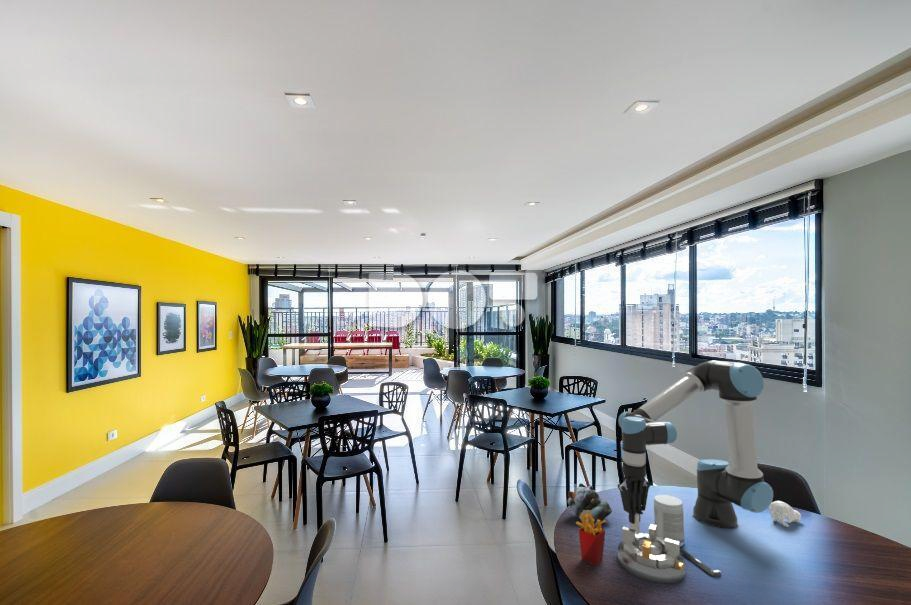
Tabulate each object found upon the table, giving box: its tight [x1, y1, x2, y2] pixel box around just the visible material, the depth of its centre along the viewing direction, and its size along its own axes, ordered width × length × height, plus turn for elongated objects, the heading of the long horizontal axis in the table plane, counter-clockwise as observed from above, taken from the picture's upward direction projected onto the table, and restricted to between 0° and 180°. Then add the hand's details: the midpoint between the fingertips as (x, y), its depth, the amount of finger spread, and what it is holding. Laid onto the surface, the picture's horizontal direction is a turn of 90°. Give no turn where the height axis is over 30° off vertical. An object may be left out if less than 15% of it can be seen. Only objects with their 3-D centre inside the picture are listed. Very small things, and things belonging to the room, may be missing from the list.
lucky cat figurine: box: [567, 483, 613, 526], centre depth 164 cm, size 15×12×14 cm
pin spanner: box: [680, 549, 722, 577], centre depth 133 cm, size 13×3×2 cm, turn 12°
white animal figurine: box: [768, 500, 802, 528], centre depth 161 cm, size 6×8×12 cm
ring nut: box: [621, 523, 681, 569], centre depth 134 cm, size 16×16×6 cm
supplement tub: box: [653, 494, 685, 547], centre depth 148 cm, size 10×10×15 cm
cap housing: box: [617, 539, 686, 584], centre depth 134 cm, size 20×20×6 cm
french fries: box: [575, 510, 607, 567], centre depth 136 cm, size 9×8×15 cm
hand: (634, 532), depth 140 cm, fingers closed
